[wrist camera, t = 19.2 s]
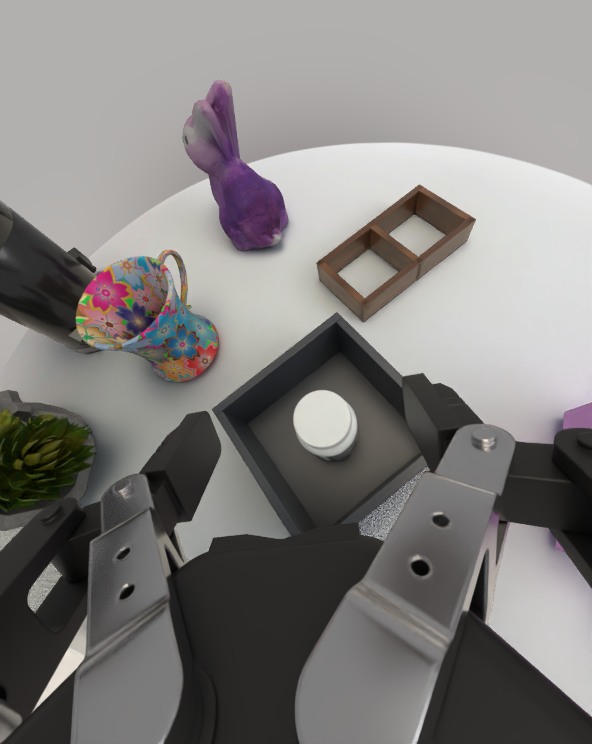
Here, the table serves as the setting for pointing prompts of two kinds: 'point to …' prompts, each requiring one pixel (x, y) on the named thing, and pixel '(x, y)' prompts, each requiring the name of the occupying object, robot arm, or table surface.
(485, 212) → the table surface
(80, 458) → the potted plant
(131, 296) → the mug
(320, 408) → the pill bottle
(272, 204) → the figurine
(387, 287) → the rack
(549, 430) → the table surface
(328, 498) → the dark grey open box
